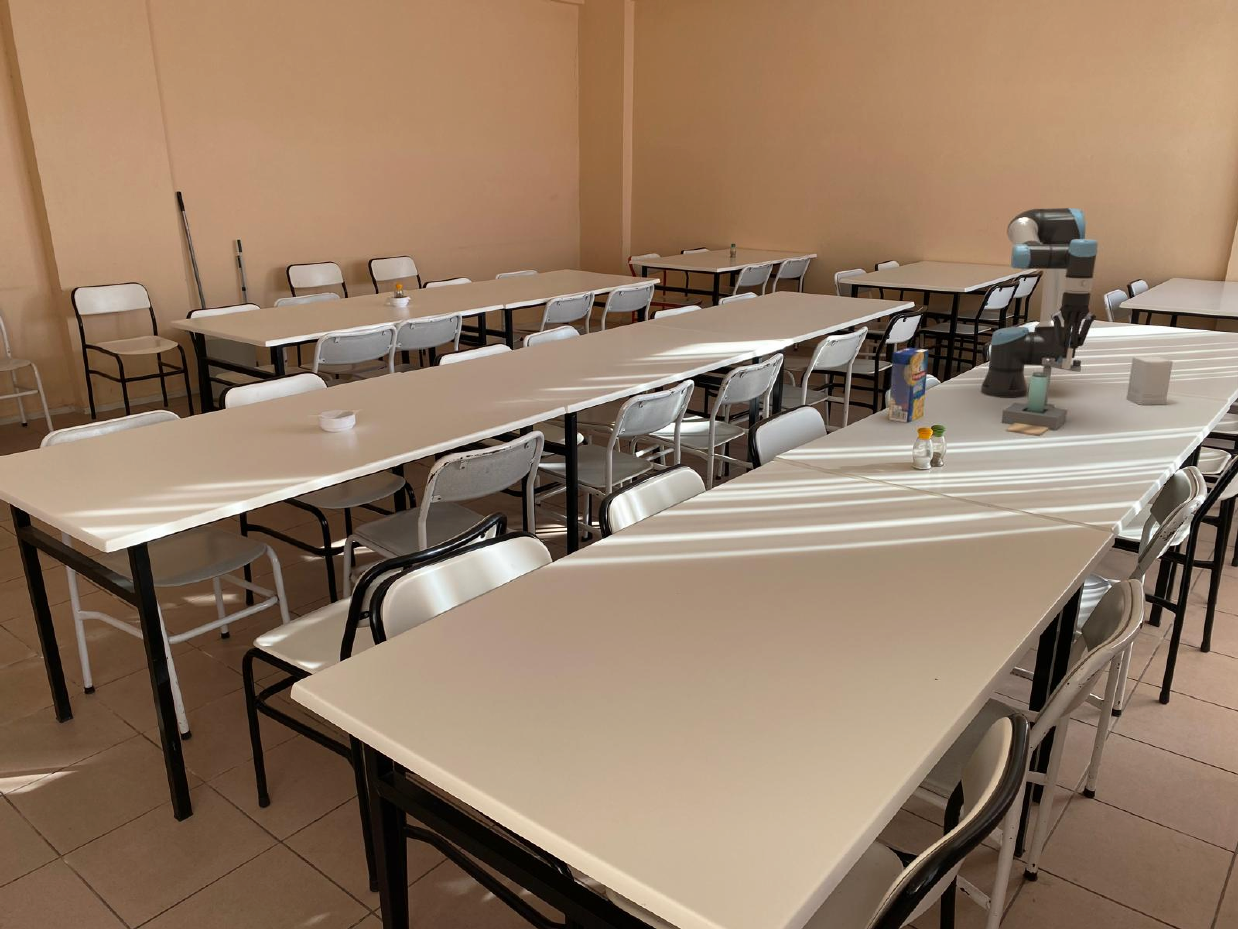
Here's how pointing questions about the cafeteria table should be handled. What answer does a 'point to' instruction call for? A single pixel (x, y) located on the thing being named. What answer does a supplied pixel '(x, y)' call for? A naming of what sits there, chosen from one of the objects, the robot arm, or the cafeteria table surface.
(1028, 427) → the cork mat
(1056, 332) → the robot arm
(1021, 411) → the socket block
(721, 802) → the cafeteria table surface
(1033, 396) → the plug
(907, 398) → the blue food box
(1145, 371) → the supplement box
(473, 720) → the cafeteria table surface
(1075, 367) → the clip
